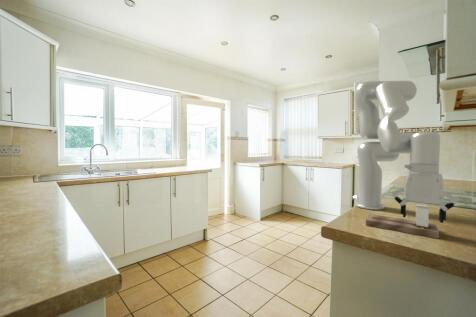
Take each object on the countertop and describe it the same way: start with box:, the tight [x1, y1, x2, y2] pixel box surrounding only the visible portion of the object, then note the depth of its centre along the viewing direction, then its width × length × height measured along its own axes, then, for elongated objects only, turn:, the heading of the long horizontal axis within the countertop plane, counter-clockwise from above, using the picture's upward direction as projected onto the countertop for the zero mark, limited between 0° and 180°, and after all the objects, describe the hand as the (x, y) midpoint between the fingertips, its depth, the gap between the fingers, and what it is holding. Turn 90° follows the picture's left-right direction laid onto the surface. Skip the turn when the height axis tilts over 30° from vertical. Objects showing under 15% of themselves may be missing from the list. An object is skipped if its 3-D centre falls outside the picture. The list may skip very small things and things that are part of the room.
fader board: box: [365, 213, 440, 239], centre depth 79 cm, size 20×9×2 cm, turn 53°
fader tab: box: [415, 204, 430, 227], centre depth 75 cm, size 3×5×6 cm, turn 143°
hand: (421, 218), depth 75 cm, fingers open, 9 cm apart
